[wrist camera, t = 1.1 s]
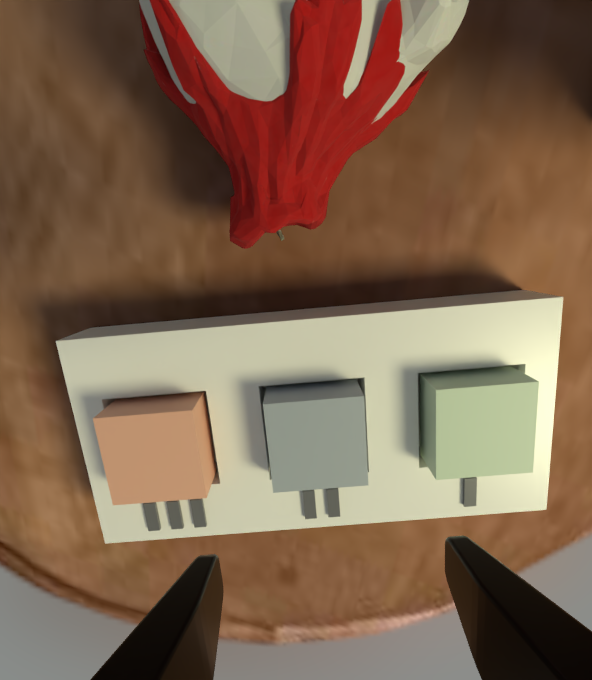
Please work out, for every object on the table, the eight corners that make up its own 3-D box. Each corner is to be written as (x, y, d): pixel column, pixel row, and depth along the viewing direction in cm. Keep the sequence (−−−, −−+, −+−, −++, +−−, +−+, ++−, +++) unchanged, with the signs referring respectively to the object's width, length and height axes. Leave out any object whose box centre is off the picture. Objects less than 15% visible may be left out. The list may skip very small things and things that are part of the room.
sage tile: (510, 366, 18) (539, 381, 16) (506, 447, 19) (532, 472, 17) (419, 373, 18) (435, 390, 16) (420, 454, 19) (436, 480, 17)
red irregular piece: (450, -128, 15) (388, 248, 20) (170, -160, 15) (180, 231, 20) (643, -534, 7) (453, 284, 12) (5, -630, 6) (97, 255, 12)
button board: (523, 289, 20) (566, 297, 17) (513, 475, 22) (548, 512, 19) (90, 327, 20) (52, 341, 17) (129, 505, 23) (103, 546, 20)
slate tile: (356, 379, 18) (364, 395, 16) (360, 459, 19) (368, 485, 17) (266, 386, 18) (263, 404, 16) (275, 466, 19) (273, 492, 17)
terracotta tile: (204, 391, 19) (192, 410, 16) (216, 470, 20) (206, 498, 17) (115, 399, 19) (92, 418, 16) (132, 477, 20) (113, 505, 17)
